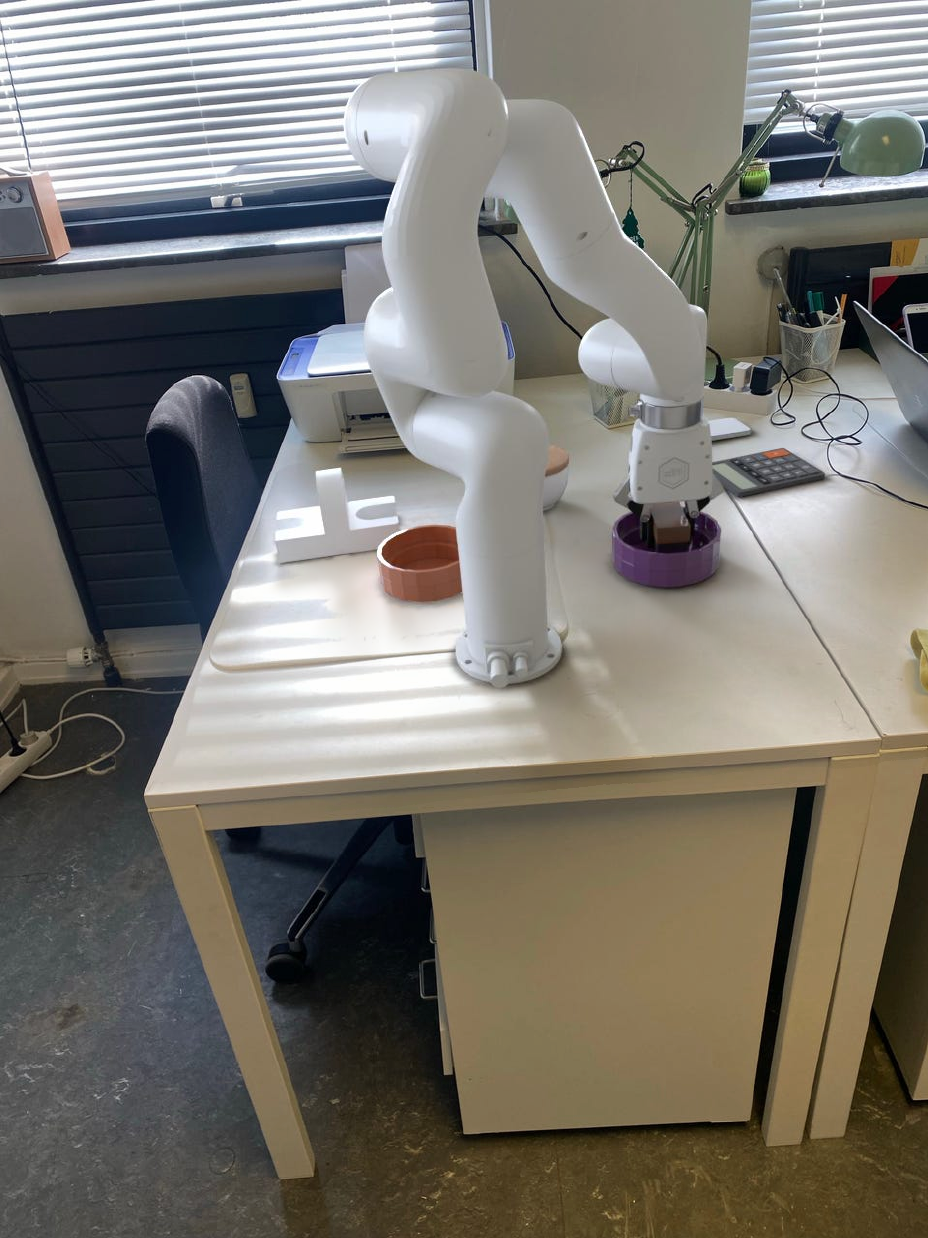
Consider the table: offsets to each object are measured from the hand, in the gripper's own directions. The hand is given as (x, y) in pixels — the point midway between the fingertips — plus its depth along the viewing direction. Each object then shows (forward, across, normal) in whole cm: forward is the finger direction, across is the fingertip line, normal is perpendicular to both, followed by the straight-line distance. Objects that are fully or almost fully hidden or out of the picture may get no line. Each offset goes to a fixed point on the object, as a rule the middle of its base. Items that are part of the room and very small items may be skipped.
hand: (666, 540), depth 120 cm
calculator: (+4, +20, +25) cm, 32 cm away
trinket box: (+4, -16, +21) cm, 27 cm away
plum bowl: (+3, 0, 0) cm, 3 cm away
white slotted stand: (+3, -46, +14) cm, 48 cm away
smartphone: (+4, +15, +43) cm, 46 cm away
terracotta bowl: (+3, -32, 0) cm, 32 cm away
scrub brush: (+1, 0, 0) cm, 1 cm away
